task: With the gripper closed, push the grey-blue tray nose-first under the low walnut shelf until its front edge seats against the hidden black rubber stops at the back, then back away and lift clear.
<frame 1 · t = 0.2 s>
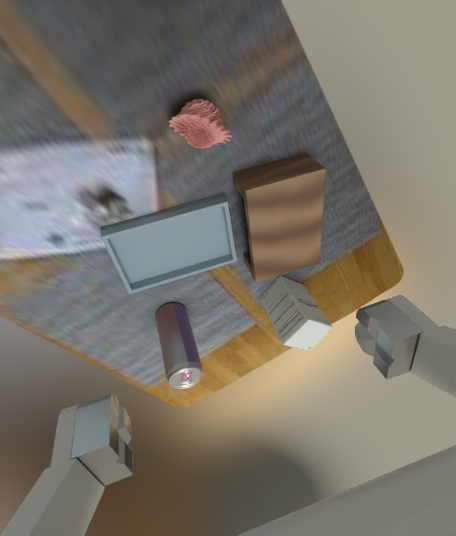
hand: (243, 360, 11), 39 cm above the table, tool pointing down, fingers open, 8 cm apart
flower: (196, 119, 43), on the table
supplement box: (280, 290, 70), on the table
cubby: (272, 212, 56), on the table
grey-blue tray: (173, 241, 54), on the table
beverage can: (170, 311, 64), on the table
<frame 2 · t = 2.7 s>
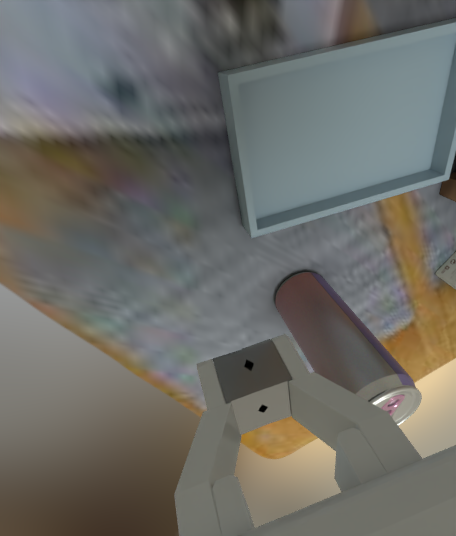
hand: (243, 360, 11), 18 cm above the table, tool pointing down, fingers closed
grey-blue tray: (341, 130, 27), on the table
beverage can: (297, 290, 36), on the table
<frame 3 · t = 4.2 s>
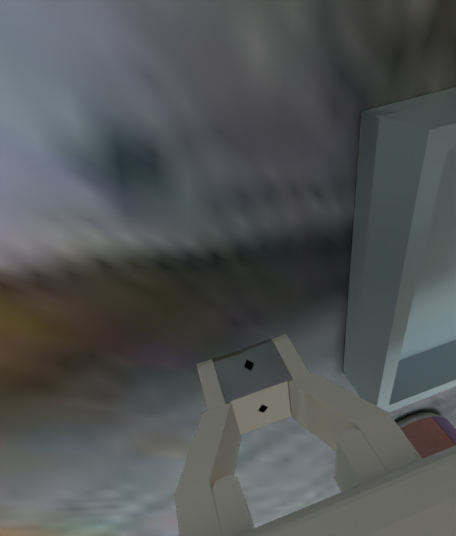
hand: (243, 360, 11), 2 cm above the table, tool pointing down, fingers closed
beverage can: (400, 432, 23), on the table
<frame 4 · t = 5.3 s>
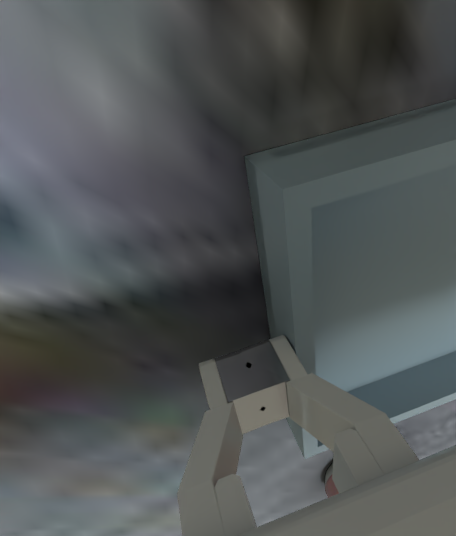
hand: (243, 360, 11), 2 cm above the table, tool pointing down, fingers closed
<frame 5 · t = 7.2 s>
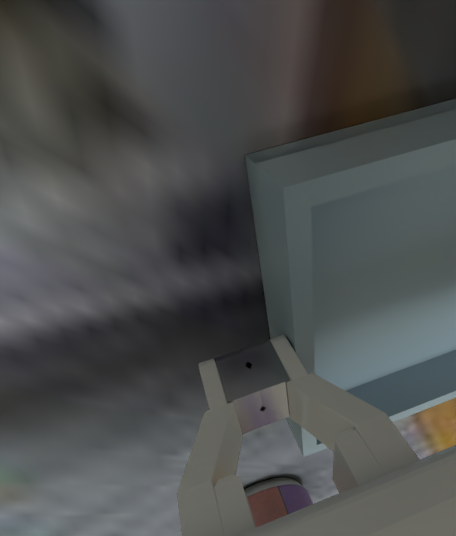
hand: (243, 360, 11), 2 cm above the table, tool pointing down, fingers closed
beverage can: (259, 495, 21), on the table
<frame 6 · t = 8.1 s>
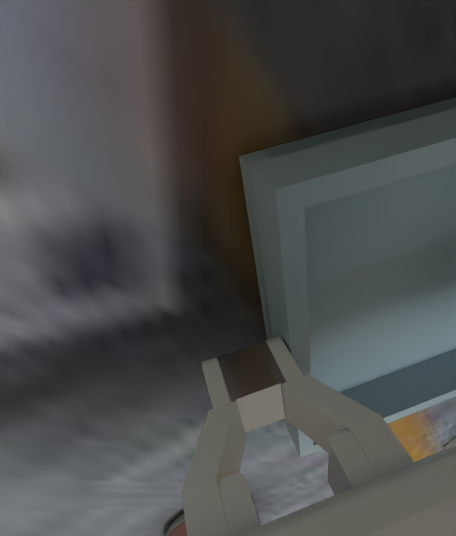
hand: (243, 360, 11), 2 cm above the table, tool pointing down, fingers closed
beverage can: (209, 514, 21), on the table
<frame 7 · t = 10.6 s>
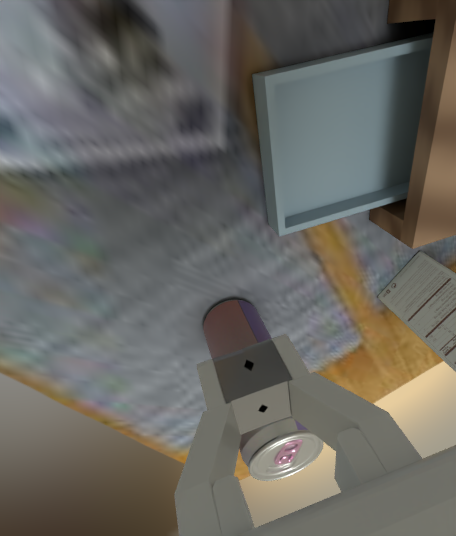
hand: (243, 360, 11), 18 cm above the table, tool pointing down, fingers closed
supplement box: (411, 282, 40), on the table
cubby: (439, 109, 28), on the table
grey-blue tray: (366, 130, 28), on the table
beverage can: (228, 317, 35), on the table
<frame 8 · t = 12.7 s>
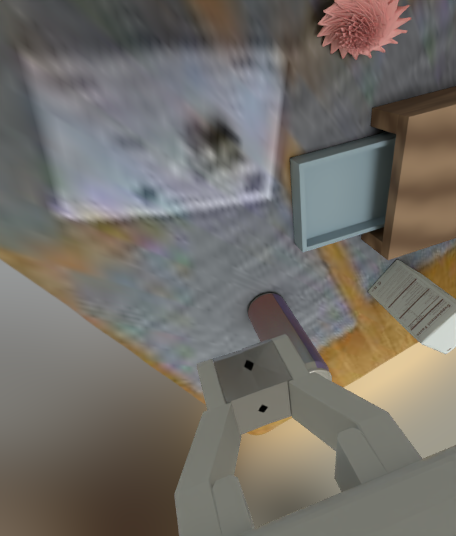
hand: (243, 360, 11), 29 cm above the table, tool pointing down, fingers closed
flower: (344, 24, 33), on the table
supplement box: (392, 280, 56), on the table
cubby: (406, 169, 44), on the table
grey-blue tray: (359, 184, 43), on the table
beverage can: (264, 305, 51), on the table
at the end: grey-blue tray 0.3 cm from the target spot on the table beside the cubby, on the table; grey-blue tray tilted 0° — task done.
